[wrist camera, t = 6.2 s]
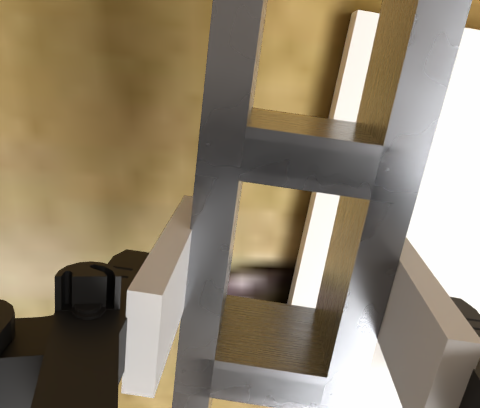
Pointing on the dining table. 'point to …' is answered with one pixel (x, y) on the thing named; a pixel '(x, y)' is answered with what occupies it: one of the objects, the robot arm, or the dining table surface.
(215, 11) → the grey compartment rack
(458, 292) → the white board
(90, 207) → the dining table surface
